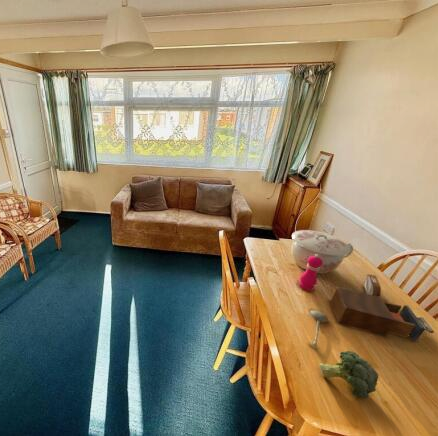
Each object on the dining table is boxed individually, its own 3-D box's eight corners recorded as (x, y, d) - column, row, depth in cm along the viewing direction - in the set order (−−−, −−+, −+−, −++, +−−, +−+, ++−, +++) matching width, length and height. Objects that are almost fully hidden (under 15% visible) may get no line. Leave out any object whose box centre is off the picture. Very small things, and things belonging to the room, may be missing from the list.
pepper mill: (313, 284, 120) (325, 253, 111) (314, 293, 114) (327, 260, 106) (297, 280, 123) (308, 249, 115) (297, 288, 118) (309, 256, 109)
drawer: (414, 321, 98) (422, 309, 94) (432, 346, 87) (442, 333, 84) (358, 307, 105) (364, 295, 102) (369, 328, 94) (376, 316, 91)
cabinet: (371, 311, 104) (380, 296, 100) (385, 336, 92) (395, 320, 89) (330, 301, 109) (337, 286, 106) (338, 323, 98) (346, 307, 94)
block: (395, 320, 97) (399, 314, 95) (399, 328, 93) (404, 321, 92) (382, 317, 98) (387, 310, 97) (387, 324, 95) (391, 318, 93)
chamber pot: (277, 264, 136) (286, 234, 127) (293, 247, 152) (302, 219, 144) (334, 289, 117) (349, 255, 108) (345, 266, 134) (359, 236, 125)
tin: (376, 304, 108) (384, 290, 104) (367, 301, 109) (375, 288, 105) (369, 285, 119) (376, 272, 116) (361, 283, 121) (367, 270, 117)
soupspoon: (327, 317, 102) (310, 310, 106) (329, 311, 100) (312, 305, 104) (323, 352, 86) (303, 343, 90) (326, 346, 85) (305, 336, 89)
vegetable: (315, 346, 86) (367, 349, 78) (325, 387, 81) (382, 394, 73) (314, 352, 77) (373, 356, 69) (326, 398, 72) (391, 408, 64)
